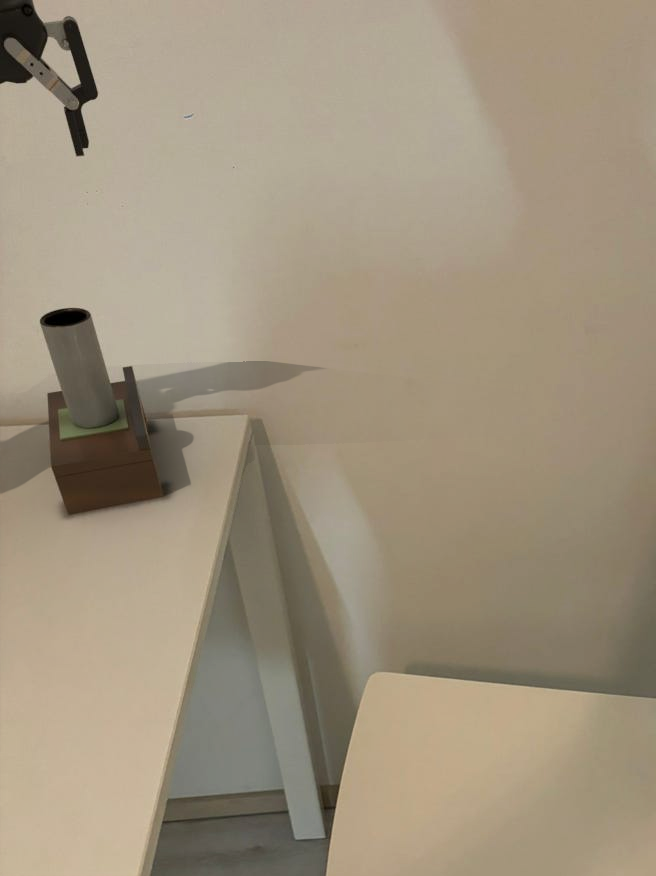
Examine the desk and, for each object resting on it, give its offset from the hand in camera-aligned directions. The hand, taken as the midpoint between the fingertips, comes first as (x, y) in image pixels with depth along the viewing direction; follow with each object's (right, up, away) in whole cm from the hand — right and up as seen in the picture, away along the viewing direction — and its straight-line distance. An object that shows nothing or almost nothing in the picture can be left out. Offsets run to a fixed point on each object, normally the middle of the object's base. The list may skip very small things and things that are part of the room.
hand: (30, 159), depth 85 cm
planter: (+2, -21, +9) cm, 23 cm away
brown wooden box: (+2, -26, +13) cm, 29 cm away
